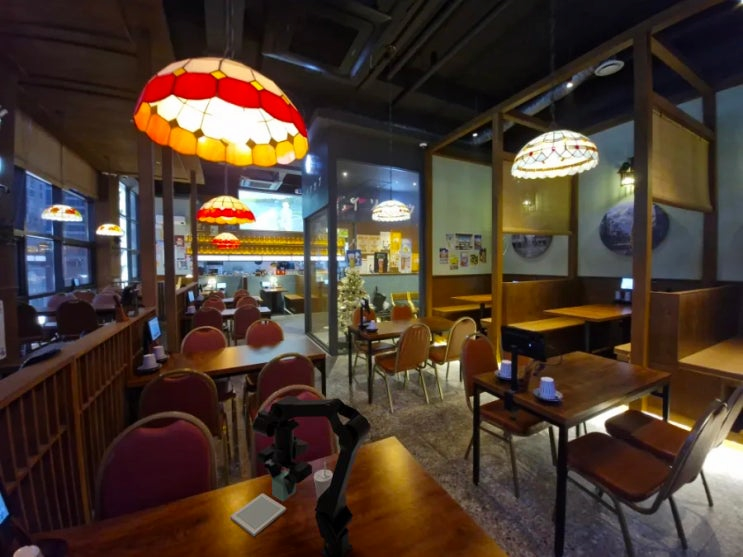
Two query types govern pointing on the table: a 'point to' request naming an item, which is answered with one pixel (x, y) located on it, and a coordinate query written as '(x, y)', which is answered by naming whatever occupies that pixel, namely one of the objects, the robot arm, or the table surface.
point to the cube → (281, 487)
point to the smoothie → (322, 480)
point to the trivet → (258, 514)
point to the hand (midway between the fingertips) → (284, 490)
